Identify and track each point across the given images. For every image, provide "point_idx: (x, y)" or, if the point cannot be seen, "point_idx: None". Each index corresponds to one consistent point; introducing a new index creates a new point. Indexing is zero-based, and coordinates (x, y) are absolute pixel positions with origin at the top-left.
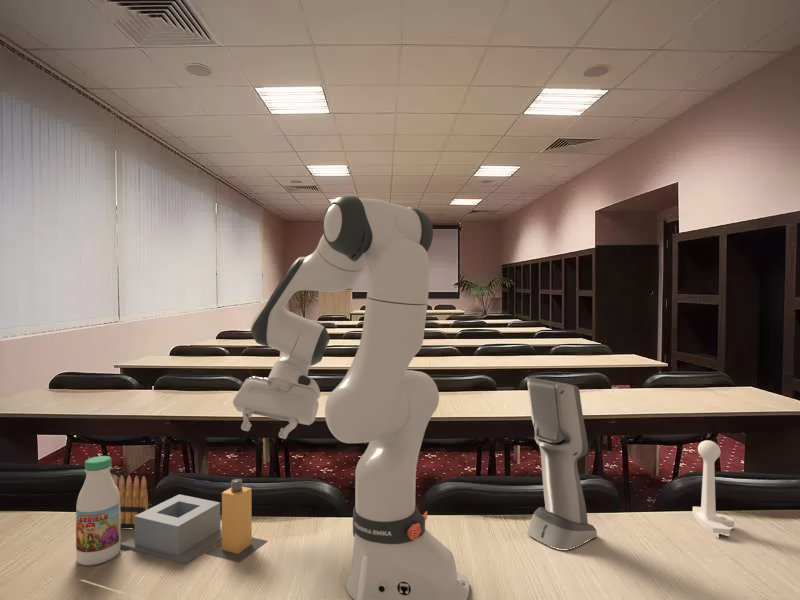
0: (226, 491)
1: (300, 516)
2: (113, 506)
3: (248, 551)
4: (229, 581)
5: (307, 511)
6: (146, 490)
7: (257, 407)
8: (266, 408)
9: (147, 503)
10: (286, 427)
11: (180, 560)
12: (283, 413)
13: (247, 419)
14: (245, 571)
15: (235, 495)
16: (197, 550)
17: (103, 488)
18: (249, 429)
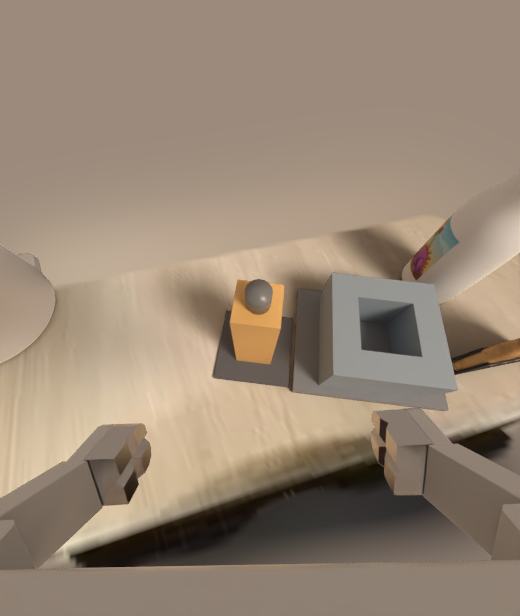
0: (278, 292)
1: (191, 513)
2: (451, 231)
3: (229, 338)
4: (218, 276)
5: (183, 552)
6: (514, 346)
7: (455, 587)
8: (293, 604)
9: (488, 356)
10: (65, 470)
11: (308, 290)
12: (16, 580)
13: (460, 502)
14: (209, 298)
15: (244, 280)
16: (304, 315)
17: (488, 194)
18: (377, 458)
